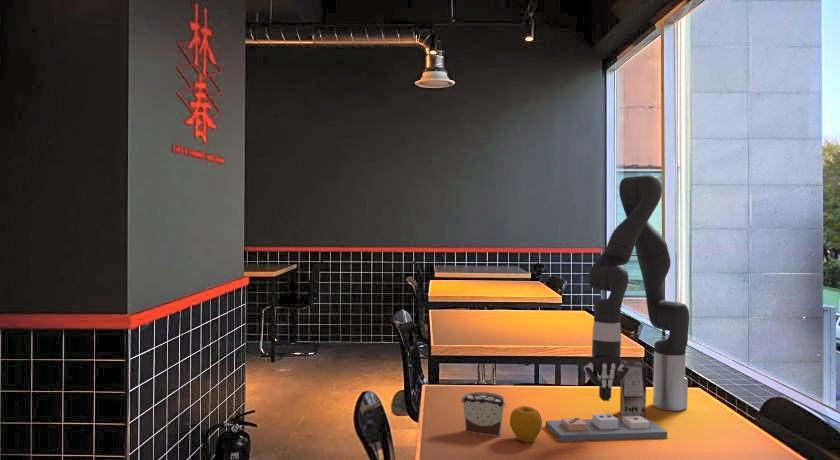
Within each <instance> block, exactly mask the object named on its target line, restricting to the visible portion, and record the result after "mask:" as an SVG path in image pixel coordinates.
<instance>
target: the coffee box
mask: <svg viewBox="0 0 840 460" xmlns="http://www.w3.org/2000/svg"><path fill="white" fill-rule="evenodd" d="M621 363H622V364H623V365H624V366H626V367H628V368H629V371H628V372H627V373H626V375H625V376H624V377H623V378H622V380H621V381H620V382H619V385H620V387H619V388H620V390H619V394H620V397H619V398H620V399H619V400H620V401H619V406H620V407H619V412H620V414H621V417H622V418H623V416H641V417H643V418H646V408H647V407H646V404H647V403H646V402H647V401H646V400H647V399H646V398H647V371H648V370H647V367H648V366H646V364H645V363H644V362H643V360H636V359H635V360H633V359H632V360H631V359H630V360H629V359H628V360H627V359H626V360H625V359H621Z"/></svg>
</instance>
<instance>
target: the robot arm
mask: <svg viewBox="0 0 840 460" xmlns="http://www.w3.org/2000/svg"><path fill="white" fill-rule="evenodd" d="M662 186H663V185H662V182H661V181H660V178H659V177H657V176H656V175H652V174H651V175H650V174H649V175H647V174H645V175H637V176H636V175H635V176H625V177H624V178H622V179H621V181H620V183H619V189H618V190H619V192H618V193H619V199H620V202H621V205H622V208H623V210H624V214H625V217H626V218H625V219H624V220H623V221H622V222H620V224H618V225H617V226H616V227H615V228H614V229H613V232H612V233H611V235H610V237H609V240H608V243H607V245H606V247H605V250H604V251H603V252H602V254H601V255H600V256H599V257H598V259H596V261H595V262H594V263H593V264H592V266H591V268H590V270H589V273H588V277H587V279H588V283H589V286H590V287H591V288H592V289H593V290H597V291H603V292H610V294H609V295H608V298H602V299H598V300H596V301H595V302H594V307H593V308H594V310H593V324H592V325H593V326H592V340H591V341H592V344H591V345H592V346H591V355H592V356H591V358H590V361H589V363H588V364H587V365H583V366H582V370H583V371H584V373H585V374H586V375H587V377H588V378H589V379H590V381H591V382H592V384H594V385H596V386H598V387H599V388H598V389H599V391H598V393H599V394H598V396H599V398H600V399H601V400H602V401H603V402H609V401H610V399H611V398H612V387H613V386H618V385H620V383H621V380H622V378H623V377H624V376H625V375H626V373H627V372H628V371H629V368H628V367H626V366H624V365H623V364H622V363H621V360H622V359H621V349H622V348H621V347H622V346H621V345H622V343H621V342H622V328H621V327H622V326H621V314H622V313H621V309H622V305H623V302H624V297H625V294H626V291H627V288H628V286H629V285H628V284H629V274H628V271H627V269H625V268H624V267H622V266H625V265H627V264H628V263H629V262H630V259H631V257H632V254H633V251H634V248H635V253H636V258H637V262H638V265H639V269H640V271H641V276H642V281H643V285H644V292H645V298H646V305H647V306H646V308H647V314H648V318H649V321H650V324H651V326H652V327H653V328H655V329H658V330H660V331H661V330H662V331H668V332H669V334H668V338H666V339H661V340H658V341H655V342H654V345H653V383H652V384H653V387H652V389H653V392H652V405H653V407H654V408H657V409H659V410H664V411H672V412H675V411H676V412H677V411H683V410H688V394H689V393H688V392H689V391H688V390H689V387H688V386H689V379H688V378H687V377H686V353H687V352H686V351H687V346H688V340H689V327H690V311H689V307H688V306H687V305H686V304H685V303H682V302H678V301H677V302H676V301H669V300H666V299H665V298H664V293H663V285H664V282H665V279H666V277H667V276H668V273H669V271H670V267H671V264H672V263H671V256H670V253H669V252H670V251H669V248H668V244H667V241H666V240H665V238H664V237H663V236H662V235H661V233H660V232H659V231H658V230H657V229H656V228H655V227H654V226H653V225H652V224H651V223H650V222H649V219H650V218H651V216H652V215H653V213H654V211H655V210H656V209H657V206H658V204H659V202H660V200H661V197H662V194H663V187H662ZM594 370H595V372H596V374H597V376H596V375H595V373H594Z"/></svg>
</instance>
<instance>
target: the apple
mask: <svg viewBox="0 0 840 460" xmlns="http://www.w3.org/2000/svg"><path fill="white" fill-rule="evenodd" d="M509 425H510V428H511V431H512V432H513V434H514V435H515V437H516V438H517V439H518V440H519V441H520V442H524V443H532V442H534V441H535V440H536V438H537V437H538V436H539V434H540V433H541V430H542V428H543V420H542V415H541V414H540V412H539V410H537V409H536V408H534V407H532V406H531V407H530V406H529V405H528V406H526V405H522V406H518V407H516V408H514V409H513V410H512V412H511V414H510V416H509Z"/></svg>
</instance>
